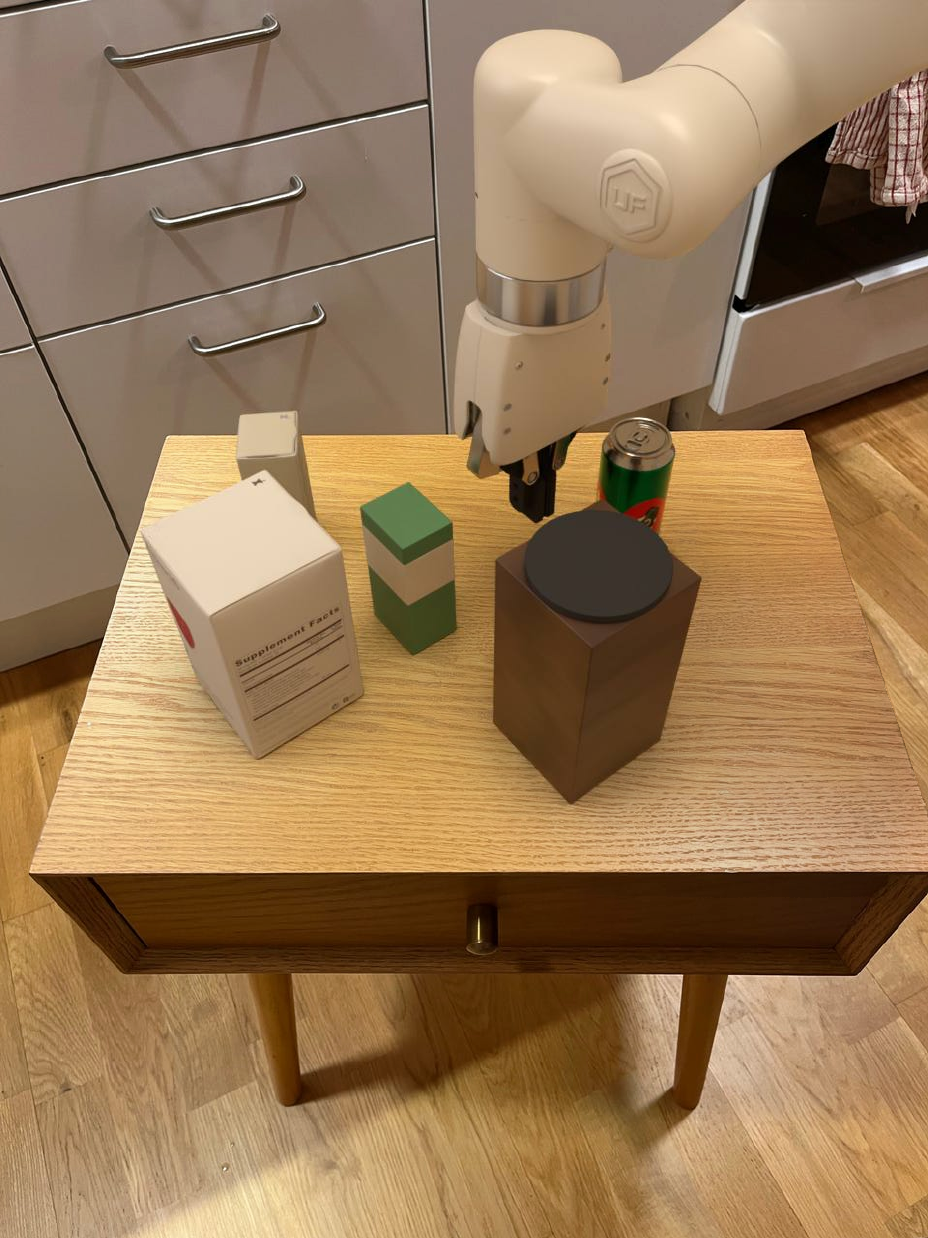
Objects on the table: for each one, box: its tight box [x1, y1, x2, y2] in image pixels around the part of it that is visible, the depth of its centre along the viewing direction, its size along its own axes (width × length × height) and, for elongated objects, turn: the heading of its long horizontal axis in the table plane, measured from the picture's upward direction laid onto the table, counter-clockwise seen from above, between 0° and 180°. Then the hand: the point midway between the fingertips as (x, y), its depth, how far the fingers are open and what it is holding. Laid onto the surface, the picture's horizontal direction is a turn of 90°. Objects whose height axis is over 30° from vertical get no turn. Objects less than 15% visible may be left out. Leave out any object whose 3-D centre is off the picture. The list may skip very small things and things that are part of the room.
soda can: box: [594, 416, 676, 536], centre depth 70 cm, size 5×5×12 cm
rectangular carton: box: [139, 470, 365, 760], centre depth 62 cm, size 9×9×15 cm
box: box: [235, 410, 318, 523], centre depth 73 cm, size 5×4×11 cm
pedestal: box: [492, 499, 703, 805], centre depth 59 cm, size 8×8×16 cm
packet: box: [359, 481, 458, 656], centre depth 67 cm, size 11×5×4 cm
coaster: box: [524, 509, 673, 623], centre depth 52 cm, size 8×8×1 cm
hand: (531, 508), depth 70 cm, fingers closed
